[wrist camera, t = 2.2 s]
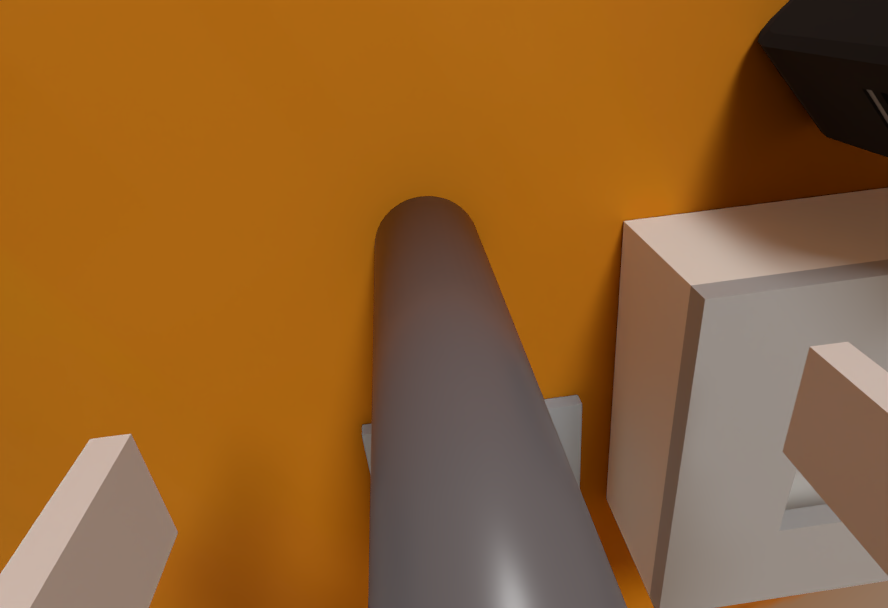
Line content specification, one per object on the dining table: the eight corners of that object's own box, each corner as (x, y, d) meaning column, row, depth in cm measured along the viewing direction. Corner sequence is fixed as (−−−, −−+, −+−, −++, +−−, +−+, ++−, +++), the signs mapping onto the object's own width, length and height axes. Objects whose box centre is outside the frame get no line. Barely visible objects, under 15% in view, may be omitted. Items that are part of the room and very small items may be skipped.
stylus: (382, 297, 21) (391, 1072, 6) (367, 203, 19) (323, 967, 4) (481, 285, 21) (728, 1009, 6) (474, 189, 19) (799, 884, 4)
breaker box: (606, 498, 27) (658, 616, 22) (623, 221, 20) (705, 299, 15) (890, 457, 28) (1004, 562, 23) (1001, 172, 21) (1201, 232, 16)
